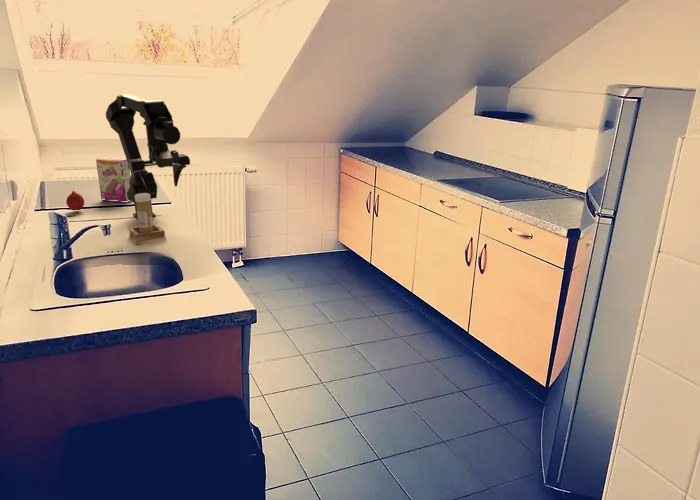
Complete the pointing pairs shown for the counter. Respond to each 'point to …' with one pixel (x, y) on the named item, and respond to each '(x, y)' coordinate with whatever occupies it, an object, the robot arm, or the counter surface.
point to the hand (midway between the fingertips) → (162, 187)
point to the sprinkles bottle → (144, 212)
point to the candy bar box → (113, 178)
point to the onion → (75, 201)
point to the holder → (147, 235)
